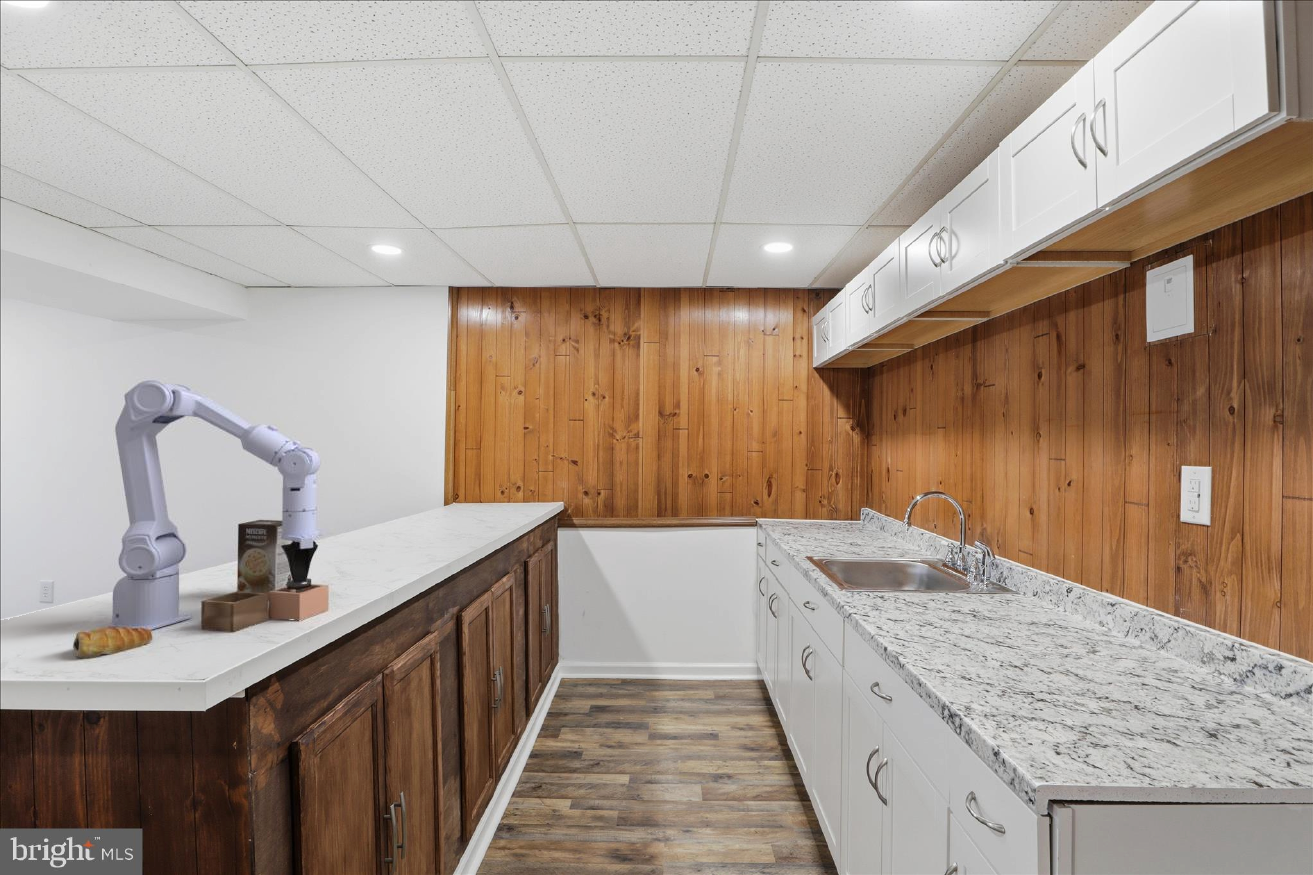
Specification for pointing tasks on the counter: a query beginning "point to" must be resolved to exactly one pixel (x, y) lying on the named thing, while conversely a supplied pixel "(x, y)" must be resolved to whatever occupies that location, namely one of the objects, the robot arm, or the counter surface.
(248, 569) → the coffee box
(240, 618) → the box
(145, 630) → the pastry
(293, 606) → the box
